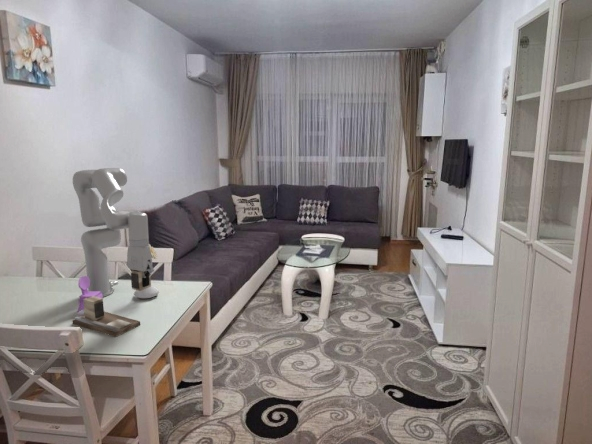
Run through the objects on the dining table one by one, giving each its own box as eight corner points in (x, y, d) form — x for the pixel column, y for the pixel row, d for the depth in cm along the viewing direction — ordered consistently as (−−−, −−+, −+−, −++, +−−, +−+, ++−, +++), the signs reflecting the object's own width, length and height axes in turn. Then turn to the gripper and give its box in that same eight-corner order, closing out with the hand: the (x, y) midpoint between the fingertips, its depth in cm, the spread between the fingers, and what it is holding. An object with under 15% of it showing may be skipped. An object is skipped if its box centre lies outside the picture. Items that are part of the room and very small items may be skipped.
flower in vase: (148, 302, 190) (145, 249, 185) (128, 298, 194) (125, 247, 189) (166, 292, 202) (163, 243, 198) (147, 289, 206) (143, 241, 201)
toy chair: (96, 313, 177) (93, 280, 174) (75, 313, 177) (72, 280, 174) (105, 306, 185) (102, 274, 182) (86, 305, 185) (82, 274, 182)
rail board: (98, 313, 177) (97, 292, 175) (140, 324, 166) (138, 302, 164) (72, 323, 167) (70, 301, 165) (115, 336, 155) (113, 313, 154)
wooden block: (151, 286, 174) (150, 268, 172) (138, 291, 168) (137, 272, 167) (143, 284, 176) (142, 266, 174) (131, 289, 170) (129, 271, 169)
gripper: (117, 242, 169) (120, 284, 173) (146, 247, 162) (149, 291, 165) (132, 238, 176) (134, 279, 179) (161, 243, 168) (163, 285, 172)
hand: (141, 284), depth 172 cm, fingers closed on wooden block, 4 cm apart
